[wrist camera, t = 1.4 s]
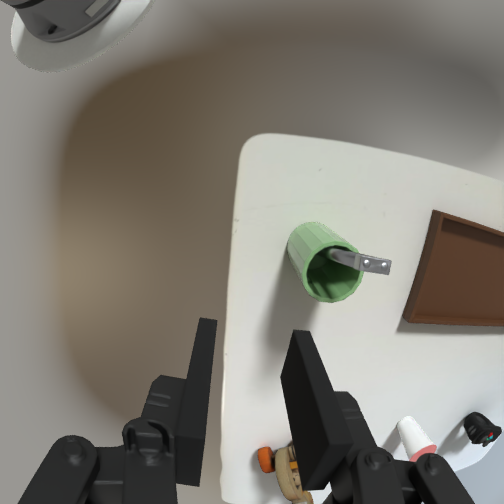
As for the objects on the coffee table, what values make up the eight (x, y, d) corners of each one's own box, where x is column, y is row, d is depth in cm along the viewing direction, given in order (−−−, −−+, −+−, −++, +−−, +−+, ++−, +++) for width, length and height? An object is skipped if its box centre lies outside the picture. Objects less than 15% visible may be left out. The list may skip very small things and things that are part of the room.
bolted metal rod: (302, 250, 35) (359, 270, 19) (303, 242, 35) (362, 255, 19) (322, 253, 35) (390, 275, 19) (323, 245, 35) (392, 260, 19)
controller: (465, 407, 47) (488, 436, 37) (489, 410, 49) (509, 435, 39) (453, 421, 48) (474, 451, 38) (478, 424, 50) (497, 449, 40)
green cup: (277, 241, 35) (289, 266, 27) (319, 211, 35) (344, 228, 26) (304, 279, 37) (322, 314, 28) (343, 252, 36) (373, 278, 28)
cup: (386, 431, 46) (409, 478, 35) (402, 411, 45) (429, 458, 33) (407, 431, 47) (430, 475, 36) (422, 412, 46) (449, 455, 34)
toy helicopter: (301, 427, 44) (317, 494, 31) (325, 479, 50) (338, 531, 37) (253, 440, 45) (258, 507, 31) (287, 490, 50) (295, 541, 37)
